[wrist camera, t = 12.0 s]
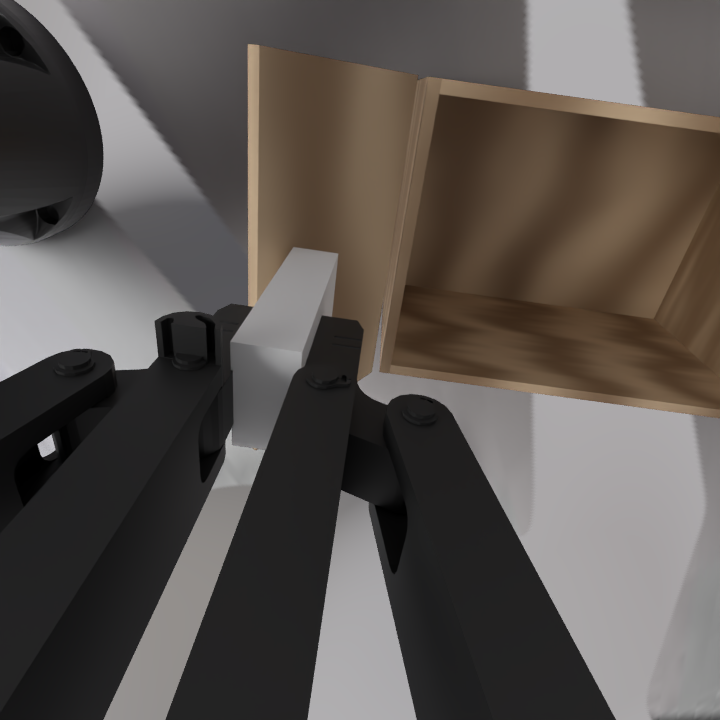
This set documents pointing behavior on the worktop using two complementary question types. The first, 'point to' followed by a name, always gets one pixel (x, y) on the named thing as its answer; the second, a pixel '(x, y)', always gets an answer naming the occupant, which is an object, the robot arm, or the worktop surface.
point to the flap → (326, 173)
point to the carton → (557, 248)
